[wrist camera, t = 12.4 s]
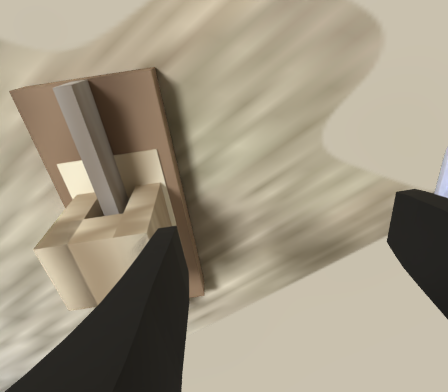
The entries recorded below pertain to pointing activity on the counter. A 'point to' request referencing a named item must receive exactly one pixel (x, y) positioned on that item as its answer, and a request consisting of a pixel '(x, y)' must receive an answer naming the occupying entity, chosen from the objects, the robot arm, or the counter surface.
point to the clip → (99, 244)
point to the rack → (109, 145)
